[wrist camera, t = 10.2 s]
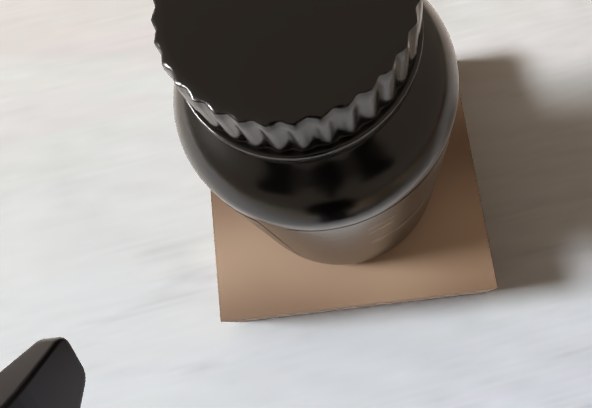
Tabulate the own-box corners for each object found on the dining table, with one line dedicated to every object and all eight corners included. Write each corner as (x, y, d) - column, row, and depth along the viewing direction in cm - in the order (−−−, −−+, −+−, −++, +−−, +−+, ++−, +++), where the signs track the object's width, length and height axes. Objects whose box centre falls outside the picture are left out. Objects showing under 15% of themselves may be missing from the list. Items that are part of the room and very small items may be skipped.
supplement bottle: (402, 72, 21) (428, -226, 10) (455, 240, 20) (562, 121, 8) (234, 121, 22) (72, -105, 10) (272, 287, 20) (130, 240, 9)
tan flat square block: (484, 292, 22) (497, 288, 19) (237, 322, 23) (220, 321, 20) (440, 61, 24) (447, 32, 22) (219, 99, 25) (201, 75, 23)
